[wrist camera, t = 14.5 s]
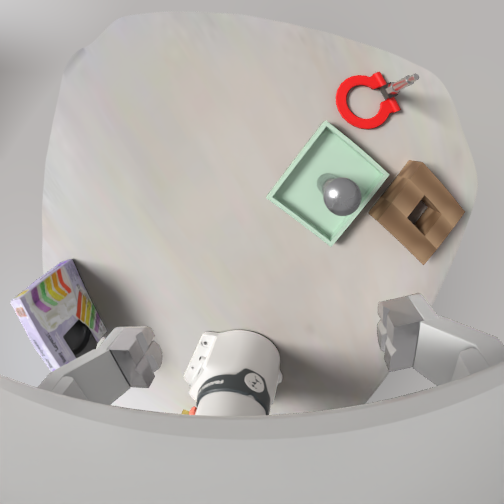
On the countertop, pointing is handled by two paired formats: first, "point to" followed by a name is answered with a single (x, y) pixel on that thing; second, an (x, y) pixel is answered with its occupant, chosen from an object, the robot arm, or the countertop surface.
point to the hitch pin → (339, 194)
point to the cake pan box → (59, 316)
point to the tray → (311, 168)
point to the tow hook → (373, 83)
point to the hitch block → (403, 203)
